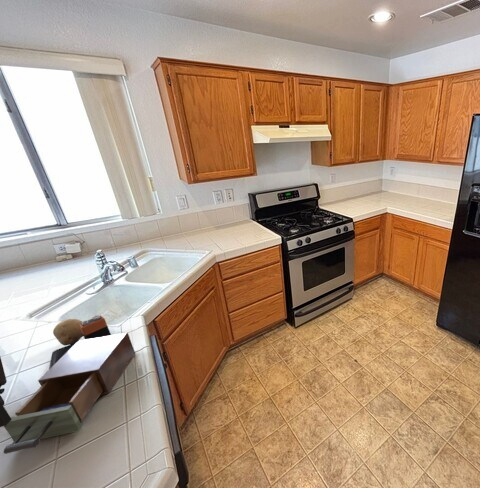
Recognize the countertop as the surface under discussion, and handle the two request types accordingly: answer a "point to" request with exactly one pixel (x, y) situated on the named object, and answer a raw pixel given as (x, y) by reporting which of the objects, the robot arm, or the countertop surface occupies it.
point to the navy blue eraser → (55, 407)
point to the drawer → (53, 410)
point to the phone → (59, 354)
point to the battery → (94, 328)
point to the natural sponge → (68, 331)
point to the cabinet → (95, 360)
